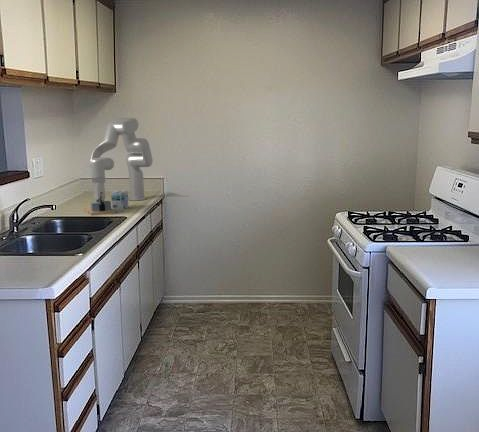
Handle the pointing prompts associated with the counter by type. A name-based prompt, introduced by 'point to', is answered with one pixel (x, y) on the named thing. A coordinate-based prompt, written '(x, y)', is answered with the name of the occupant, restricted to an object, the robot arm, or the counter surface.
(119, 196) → the light bulb box
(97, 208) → the sanding block
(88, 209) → the oak board
